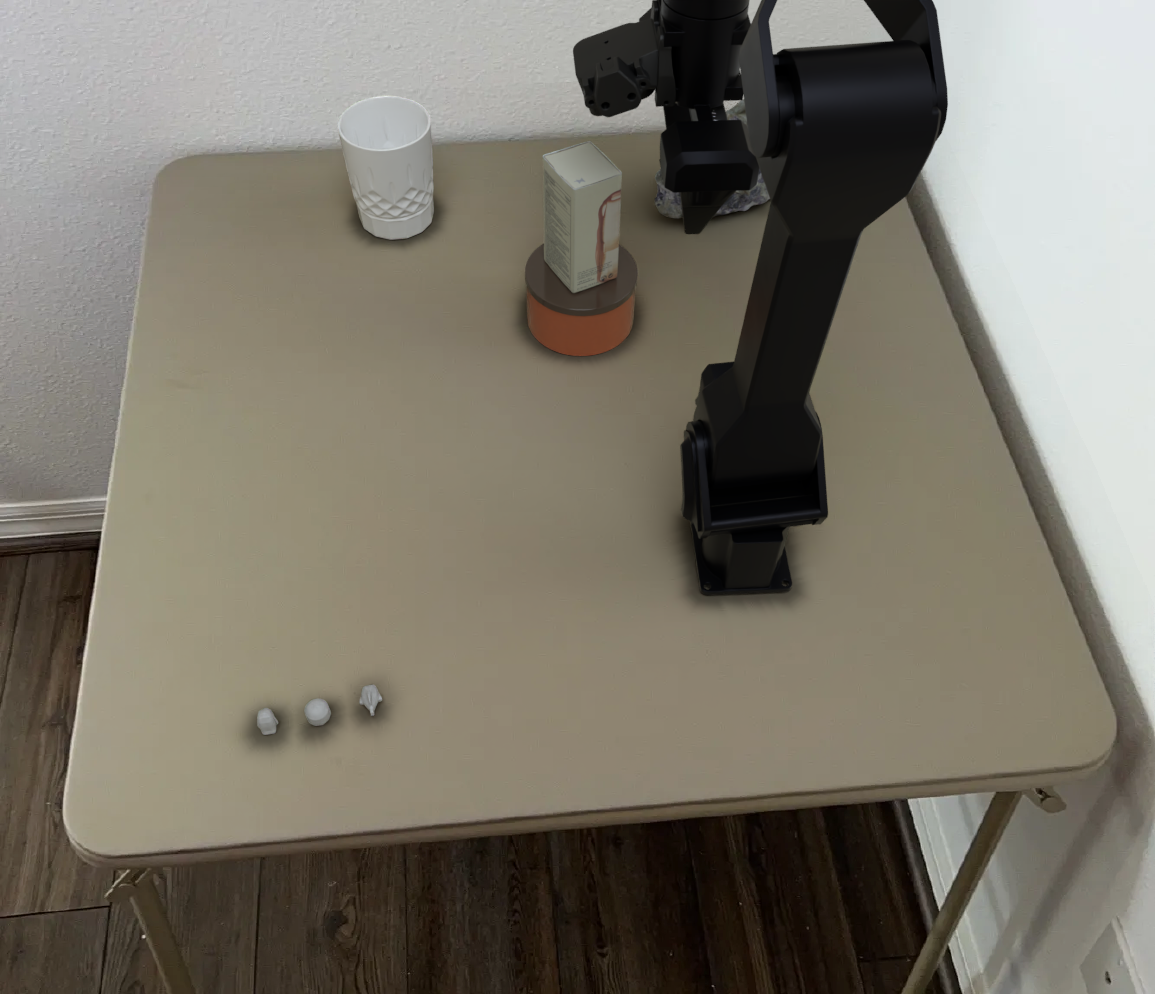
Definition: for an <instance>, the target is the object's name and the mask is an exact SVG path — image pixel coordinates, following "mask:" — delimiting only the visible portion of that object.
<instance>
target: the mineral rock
mask: <svg viewBox="0 0 1155 994" xmlns="http://www.w3.org/2000/svg"><path fill="white" fill-rule="evenodd" d="M725 111H726V115H727V119H728V120H742V121H743V122H744V123H745V124H746V125H747V118H746V110H745V102H744V98H743V100H739V101H738V102H737V103H736V104H735V105H734V106H733V107H731V108H729V109H727V110H725ZM654 180H655V182H656V190H657V193H656V196H655V197H654V206H655V207H656V208H657V211H658V213H659V214H660V215H662V216H664V217H667V218H670V219H671V218H672V219H681V218H683V215H682V206H681V197H680V193H674V192H672V191H670V190H668V189H666V188H664V182H663V178H662V172H661V168H659V170H657V172H656V173H655V176H654ZM769 200H770V197H769V194H768V191H767V188H766V185H765V182H764V179H763V177H762V174H761V171H760V169H759V174H758V180H757V185H756V186H755V187H753V188H752V189H751V190H744V191H736V192H735V193H734V194H733V195H732V196H731V197H730V198H729V199H728V200H727V201H726V202H725V203H724V204H723V206H722V207H721V208H720V209H719V210H718V212H717V213H716V214H715V215H714V216H713V218H715V217H716V216H724V215H728V214H731V213H735V212H738V211H739V212H745V211H748V210H749V209H750V208H751V207H753V206H756V205H762V204H765V203H767V201H769Z"/></svg>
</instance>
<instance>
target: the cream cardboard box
mask: <svg viewBox="0 0 1155 994" xmlns="http://www.w3.org/2000/svg"><path fill="white" fill-rule="evenodd" d="M622 184H623V172H622V171H621V170H620V168H618V166H617V165H616V164H615V163H614V162H613V161H612V160H611V159H610V158H609V157H608V156H607V155H606V154H605V153H604V152H603V151H602V150H601V149H600V148H599V147H598V146H597V145H595V144H594V143H593V142H592V140H588V141H584V142H581V143H577V144H573V145H570V146H566V147H564V148H561V149H557V150H554V151H550V152H547V153H545V154H543V155H542V200H543V201H542V206H543V207H542V209H543V210H542V211H543V243H544V260H545V262H546V263H547V264H548V265H549V266H550V268H551V269H552V270H553V271H554V273H555V274H556V275H557V276H558V277H559V278H560V280H561V281H562V282H563V283H564V284H565V285H566V286H567V287H568V289H569V290H570V291H571V292H572V293H576V292H579V291H582V290H585V289H588V288H591V287H594V286H596V285H599V284H602V283H604V282H607V281H609V280H612V279H614V278H616V277H617V273H618V251H619V245H620V228H621V227H620V225H621V207H622V206H621V204H622V186H623V185H622Z"/></svg>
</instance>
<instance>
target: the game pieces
mask: <svg viewBox="0 0 1155 994" xmlns="http://www.w3.org/2000/svg"><path fill="white" fill-rule="evenodd" d="M358 701H359V702H358V703H359V705H360V706H365V708H366V709H367V710H368V711H369V714H370V716H371V717H374V716H375V714H376V713H375V710H376V708H377V705H378V703H380V702H382V701H383V697H382V696H381V694H380V692H379V689H378V687H377V686H376V684H374V683H373V684H368V685H364V686H362V689H361V693H360V697H359V700H358ZM304 715H305V717H306V720H307V722H308V723H309V724H310V725H312V726H314V727H318V726H324V725H325V724H326V723H328V721H329V720H330V719H331V715H332V711H331V709H330V706H329V703H328V702H327V701H326V700H325V699H324V698H320V697H319V698H318V697H316V698H313V699H311V700H309V701H308V702H307V703H306V704H305V706H304ZM277 725H279V721H278V719H277V718H276V717H275V714H274V712H273V710H272V709H271V708H268V707H262V709H259V711H258V712H257V718H256V726H257V728H259V729H260V732H261V733H262V735H264V736H267V735H268V736H269V735H273V734H275V733H277Z"/></svg>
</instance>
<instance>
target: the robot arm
mask: <svg viewBox="0 0 1155 994" xmlns="http://www.w3.org/2000/svg"><path fill="white" fill-rule="evenodd" d="M863 1H864V3H865V4H866V6H867V7H868V8H869V10H870V11H871V12H872V14H873V15H874V16H875V18H876V19H877V20H878V22H879V24H880V25H881V26H882V27H883V29H884V30H885V32H886V34H887V35H888V36H889V37H890V38H891V40H888V41H873V42H872V41H871V42H860V43H859V42H858V43H846V44H833V45H818V46H805V47H804V46H803V47H791V48H790V47H789V48H783V49H781V50H779V51H777V52H776V53H774V51H773V44H772V36H771V28H770V18H771V16H772V14H773V12H774V10H775V7H776V4H777V2H778V0H760V2H759V5H758V7H757V9H756V11H755V14H754V16H753V18H752V21H751V19H750V17H749V16H750V15H749V7H750V0H652V1H651V7H650V8H649V9H648V10H647V11H646V12H645V13H643V15H641V16H640V17H639V18H638V21H637V22H627V23H623V24H621V25H618V26H615V27H613V28H610V29H607V30H604V31H601V32H598V33H595V34H593V35H590V36H587V37H585V38H582V39H581V40H579V41H578V42H576V43H575V44H574V46H573V48H572V56H573V63H574V65H573V66H574V72H575V77H576V79H577V82H578V85H579V87H580V89H581V90H580V91H581V92H582V94H583V101H584V105H585V107H586V108H587V109H588V110H589V113H590V114H591V116H594V117H605V118H612V117H615V116H618V115H621V114H625V113H627V112H630V111H633V110H636V109H637V108H638V107H639V106H640V104H641V103H642V100H645V99H647V98H649V97H650V96H652V94H653V93H654V104H655V108H658V107H662V110H663V114H664V115H663V116H664V123H665V124H664V125H665V130H663V131H662V132H661V133H660V138H659V139H660V140H659V159H658V161H659V166H660V169H661V172H662V178H663V182H664V188H666V189H668V190H670V191H672V192H674V193H680V197H681V206H682V215H683V217H682V223H683V231H684V234H685V235H699V234H701V233H702V232H703V230H704V229H705V228H706V226H707V225H708V224H709V223H710V221H711V220H712V219H713V218H714V217H715V216H714V215H715V214H716V213H717V212H718V210H719V209H720V208H721V207H722V206H723V204H724V203H725V202H726V201H727V200H728V199H729V198H730V197H731V196H732V195H733V194H734V193H735V192H736V191H744V190H751V189H752V188H753V187H755V186H756V185H757V180H758V174H759V169H760V171H761V174H762V177H763V179H764V182H765V185H766V188H767V191H768V194H769V197H770V199H769V200H770V203H769V207H768V213H767V217H766V221H765V226H764V230H763V234H762V237H761V238H762V239H761V243H760V248H759V251H758V256H757V261H756V265H755V269H754V274H753V277H752V282H751V286H750V290H749V295H748V299H747V303H746V308H745V313H744V316H743V322H742V325H741V330H740V335H739V339H738V343H737V347H736V351H735V356H734V361H725V362H715V363H714V362H713V363H708V364H707V365H706V366H705V367H704V369H703V370H702V371H701V374H700V382H699V388H698V394H697V397H696V398H695V400H694V403H695V406H696V407H695V409H694V413H693V418H692V420H691V421H688V422H687V423H686V426H685V430H683V441H682V443H681V444H680V445H679V451H680V452H679V453H680V470H681V488H682V491H681V492H682V494H681V495H682V499H681V504H680V513H681V516H682V518H684V519H685V520H688V521H689V522H690V532H691V539H692V546H693V552H694V560H695V566H696V573H697V579H698V581H697V582H698V587H699V591H700V593H701V594H702V595H705V596H718V595H721V596H723V595H724V596H725V595H740V594H741V595H744V594H745V595H746V594H747V595H748V594H765V593H766V594H769V593H772V594H773V593H787V592H789V591H791V589H792V588H793V587H792V586H793V581H792V580H793V579H792V575H791V571H790V565H789V560H788V556H787V550H786V546H785V545H786V542H787V539H788V535H789V532H790V528H791V527H800V526H807V525H812V526H818V525H821V524H823V522H825V521H826V520H827V518H828V517H829V509H828V508H829V507H828V493H827V492H828V491H827V478H826V463H825V449H824V437H823V428H822V422H821V420H820V417H819V414H818V412H817V411H816V408H815V406H814V402H813V400H812V397H811V394H810V390H811V387H812V385H813V382H814V379H815V376H816V372H817V370H818V367H819V363H820V361H821V357H822V355H823V351H824V348H825V345H826V342H827V340H828V337H829V333H830V331H831V327H832V324H833V321H834V318H835V315H836V312H837V309H838V306H839V304H840V301H841V297H842V295H843V291H844V288H845V284H846V282H847V279H848V276H849V272H850V269H851V267H852V263H853V261H854V258H855V256H856V255H855V254H856V252H857V249H858V246H859V243H860V240H861V236H862V234H863V232H864V229H866V228H867V227H868V226H870V225H871V224H872V223H874V222H875V221H876V220H878V219H879V218H880V217H881V216H882V215H884V214H886V213H887V212H888V211H890V209H892V208H893V207H894V206H896V205H897V204H898V203H900V202H901V201H902V200H903V199H904V198H906V197H907V196H908V195H909V194H910V193H911V192H912V190H913V189H914V186H915V184H916V182H917V181H918V179H919V177H920V174H921V173H922V171H923V169H924V167H925V165H926V163H927V161H928V160H929V157H930V156H931V153H932V151H933V149H934V147H935V144H936V142H937V141H938V139H939V138H940V136H941V135H942V133H943V131H944V128H945V124H946V122H947V115H948V106H949V97H948V84H947V83H948V82H947V77H946V70H945V69H946V68H945V61H944V55H943V47H942V40H941V31H940V24H939V17H938V10H937V8H936V5H935V3H934V1H933V0H863ZM743 99H744V102H745V110H746V118H747V125H746V124H745V123H744V122H743V121H742V120H728V119H727V115H726V111H727V110H726V107H725V104H724V102H731V101H735V102H736V101H741V100H743ZM713 216H714V217H713ZM784 584H786V585H784ZM706 587H708V588H706Z"/></svg>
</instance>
